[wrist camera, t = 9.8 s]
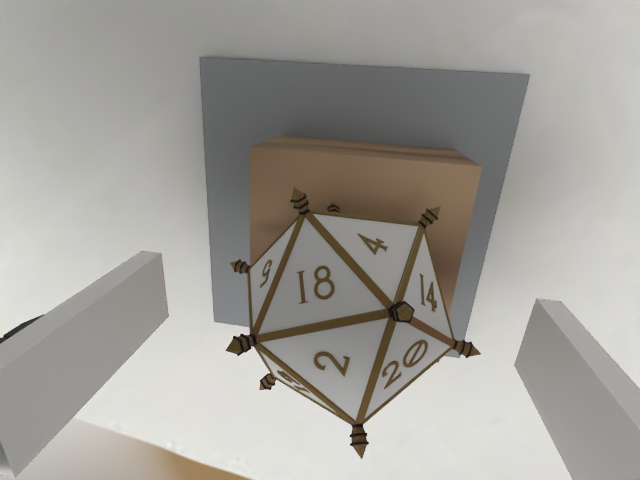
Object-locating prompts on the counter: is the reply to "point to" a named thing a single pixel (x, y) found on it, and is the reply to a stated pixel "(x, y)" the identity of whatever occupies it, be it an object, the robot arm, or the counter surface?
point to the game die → (347, 310)
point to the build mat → (349, 125)
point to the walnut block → (365, 190)
